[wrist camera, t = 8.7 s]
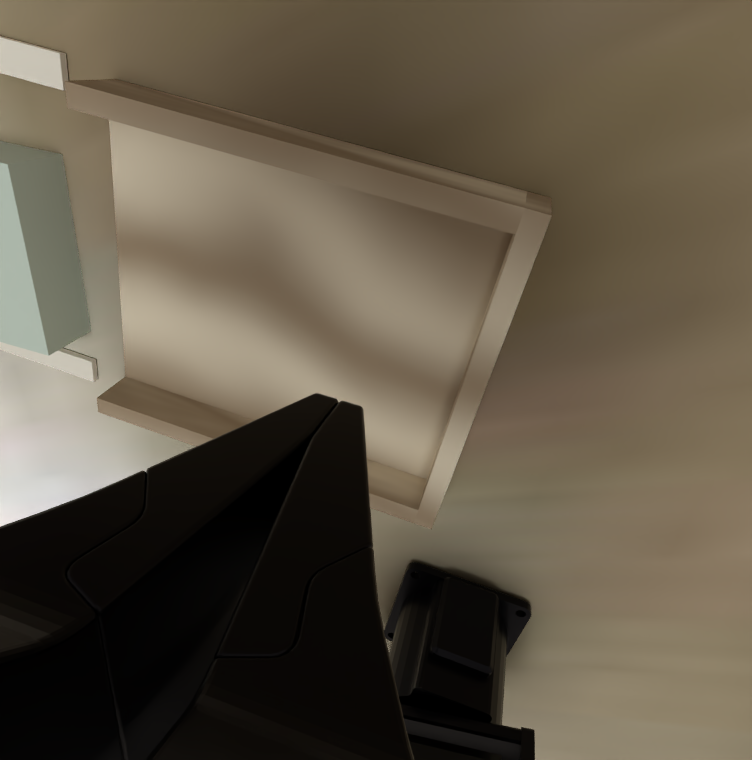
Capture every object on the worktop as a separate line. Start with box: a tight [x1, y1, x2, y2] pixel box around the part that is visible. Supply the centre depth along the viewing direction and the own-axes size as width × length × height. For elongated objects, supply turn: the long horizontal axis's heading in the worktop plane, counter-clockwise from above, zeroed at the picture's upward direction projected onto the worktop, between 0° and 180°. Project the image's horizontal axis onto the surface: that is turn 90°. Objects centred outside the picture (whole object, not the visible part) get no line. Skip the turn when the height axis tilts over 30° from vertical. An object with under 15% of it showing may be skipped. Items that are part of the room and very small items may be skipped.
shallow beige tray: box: [65, 79, 552, 529], centre depth 21 cm, size 14×16×2 cm
